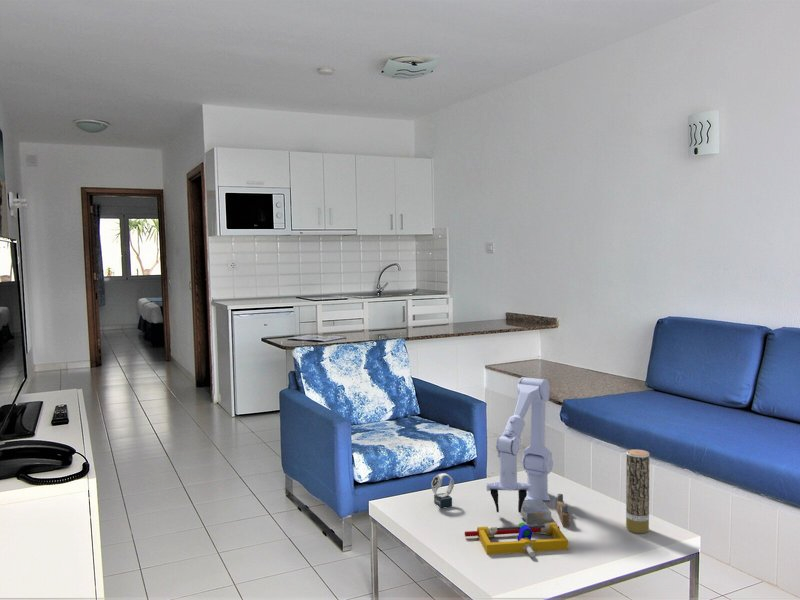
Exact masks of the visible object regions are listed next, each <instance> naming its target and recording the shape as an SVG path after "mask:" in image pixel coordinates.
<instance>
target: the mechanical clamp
mask: <svg viewBox="0 0 800 600" xmlns="http://www.w3.org/2000/svg"><path fill="white" fill-rule="evenodd" d="M533 533H539V534H540V535H545V536H552V537H553V538H546V539H543V538H542V539H532V537H533ZM515 534H516V535H517V540H515V541H514V540H512V541H496V542H491V540H490V538H495V536H497V535H515ZM464 537H467V538H468V537H477V538H478V540H479V543H480V544H481V545H482V548H483V549H484V552H485V554H486V555H499V554H500V555H501V554H502V553H504V554H519V553H518V552H520V553H527V554H528V555H529V556H530V557H531V558H533V557H535V555H536V554H535V553H536V552H549V551H551V550H553V551H566V550H569V540H568V538H567V537H566V536H565V534H564V533H563V532H562V530H560V526H559V525H557V524H556V522H551V523H545V524H536V525H527V523H526V522H520V523H519V524H518V526H507V527H506V526H504V527H497V526H491V527H488V526H477V528H476V530H467V531H464ZM534 551H536V552H534ZM502 555H503V554H502Z"/></svg>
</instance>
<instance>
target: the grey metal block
mask: <svg viewBox="0 0 800 600" xmlns="http://www.w3.org/2000/svg"><path fill="white" fill-rule="evenodd" d="M517 502H519V499H518V501H517ZM519 514H520V515H521V518H522V519H523V518H524V519H523V520H524V522H525V521H526V522H525V524H526V525H527V524H529V525H543V524H545V523H552V512H551V510H550V509H549V507H548V506H547V505H546V504H545V502H544V500H542V499H535V500H527V499H525V500H524V502H523V505H522V508H521V513H519Z"/></svg>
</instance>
